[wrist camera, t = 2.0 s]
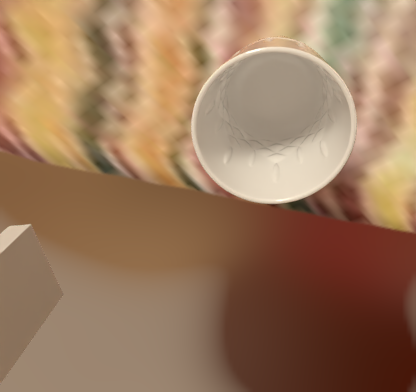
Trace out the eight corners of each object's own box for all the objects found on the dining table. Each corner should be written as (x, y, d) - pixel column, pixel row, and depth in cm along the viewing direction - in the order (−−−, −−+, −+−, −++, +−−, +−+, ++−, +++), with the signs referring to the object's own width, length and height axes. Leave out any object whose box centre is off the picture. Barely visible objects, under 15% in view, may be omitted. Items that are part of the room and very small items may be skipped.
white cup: (343, 121, 27) (371, 183, 19) (239, 151, 30) (222, 218, 21) (317, 6, 24) (336, 18, 16) (203, 51, 27) (166, 81, 18)
